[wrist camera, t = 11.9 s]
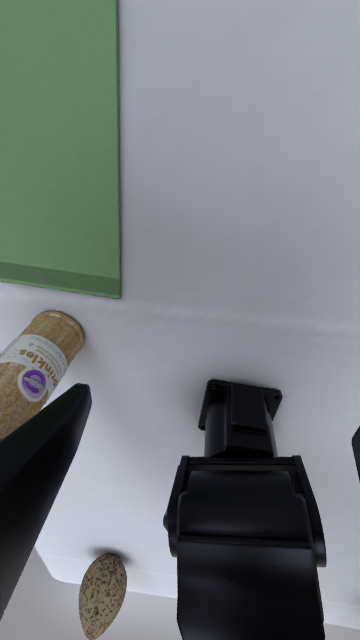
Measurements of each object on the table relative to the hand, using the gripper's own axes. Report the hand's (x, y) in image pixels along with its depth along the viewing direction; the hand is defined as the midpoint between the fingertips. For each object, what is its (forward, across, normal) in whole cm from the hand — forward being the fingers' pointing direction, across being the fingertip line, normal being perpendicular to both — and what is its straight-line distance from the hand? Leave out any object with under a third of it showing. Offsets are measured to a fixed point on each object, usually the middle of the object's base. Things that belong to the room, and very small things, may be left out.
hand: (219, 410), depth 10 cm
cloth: (+12, +12, -7) cm, 19 cm away
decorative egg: (+12, +11, +54) cm, 57 cm away
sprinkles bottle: (+13, +13, +7) cm, 19 cm away
